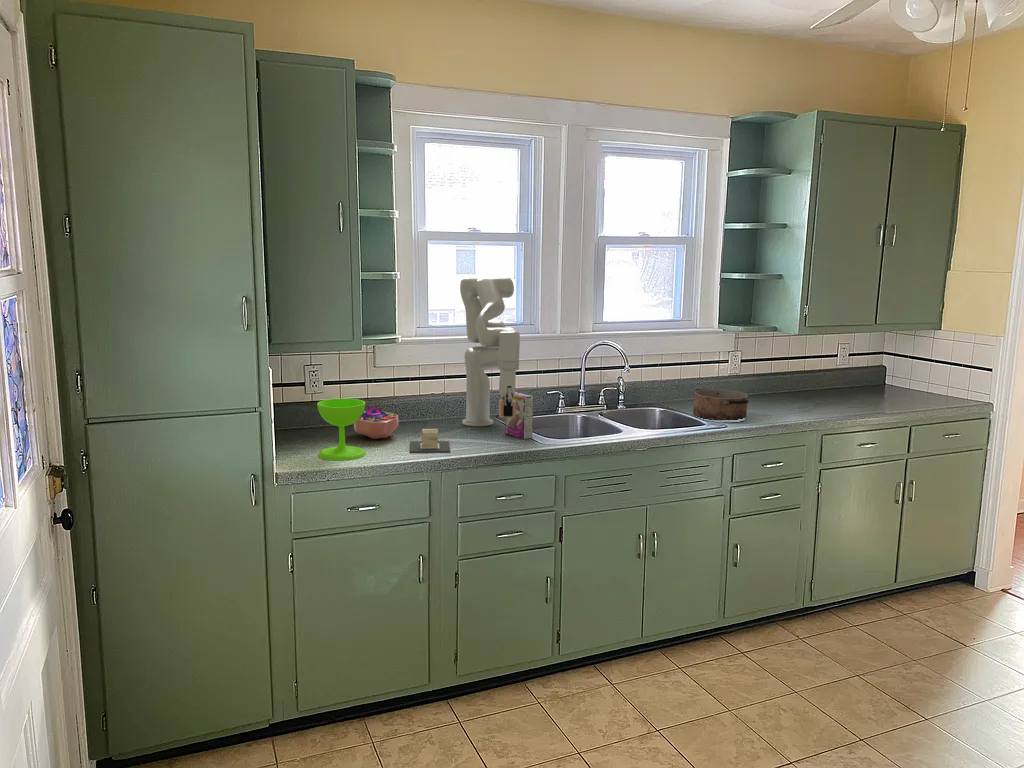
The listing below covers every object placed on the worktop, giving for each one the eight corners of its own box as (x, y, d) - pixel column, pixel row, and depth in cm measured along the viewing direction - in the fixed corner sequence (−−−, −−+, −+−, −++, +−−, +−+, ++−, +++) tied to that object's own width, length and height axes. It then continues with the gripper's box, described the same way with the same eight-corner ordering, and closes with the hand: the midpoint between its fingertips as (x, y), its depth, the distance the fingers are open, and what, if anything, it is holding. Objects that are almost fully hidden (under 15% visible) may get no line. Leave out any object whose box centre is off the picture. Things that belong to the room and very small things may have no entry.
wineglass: (357, 446, 277) (357, 397, 274) (372, 457, 263) (371, 405, 260) (313, 451, 269) (311, 400, 266) (325, 462, 255) (324, 409, 252)
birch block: (422, 443, 280) (422, 428, 279) (437, 443, 280) (437, 428, 279) (422, 447, 274) (422, 432, 273) (437, 447, 275) (437, 432, 274)
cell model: (355, 445, 279) (354, 414, 277) (350, 432, 298) (349, 403, 296) (402, 442, 284) (401, 412, 282) (394, 430, 302) (394, 401, 300)
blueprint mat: (410, 442, 283) (410, 441, 283) (448, 442, 285) (448, 440, 285) (409, 452, 270) (409, 450, 270) (450, 452, 271) (450, 450, 271)
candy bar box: (503, 434, 300) (504, 392, 297) (513, 432, 303) (514, 391, 300) (523, 440, 291) (524, 397, 288) (533, 438, 295) (534, 395, 292)
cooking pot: (678, 412, 348) (679, 388, 347) (719, 409, 357) (721, 386, 355) (719, 427, 321) (720, 401, 319) (762, 423, 329) (764, 398, 327)
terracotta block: (498, 414, 284) (499, 399, 283) (513, 414, 284) (514, 399, 283) (500, 417, 278) (500, 402, 277) (515, 417, 279) (515, 402, 278)
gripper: (495, 360, 286) (494, 408, 289) (500, 369, 269) (499, 419, 272) (515, 360, 286) (514, 408, 290) (521, 369, 270) (520, 419, 273)
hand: (507, 413), depth 281 cm, fingers closed on terracotta block, 5 cm apart
